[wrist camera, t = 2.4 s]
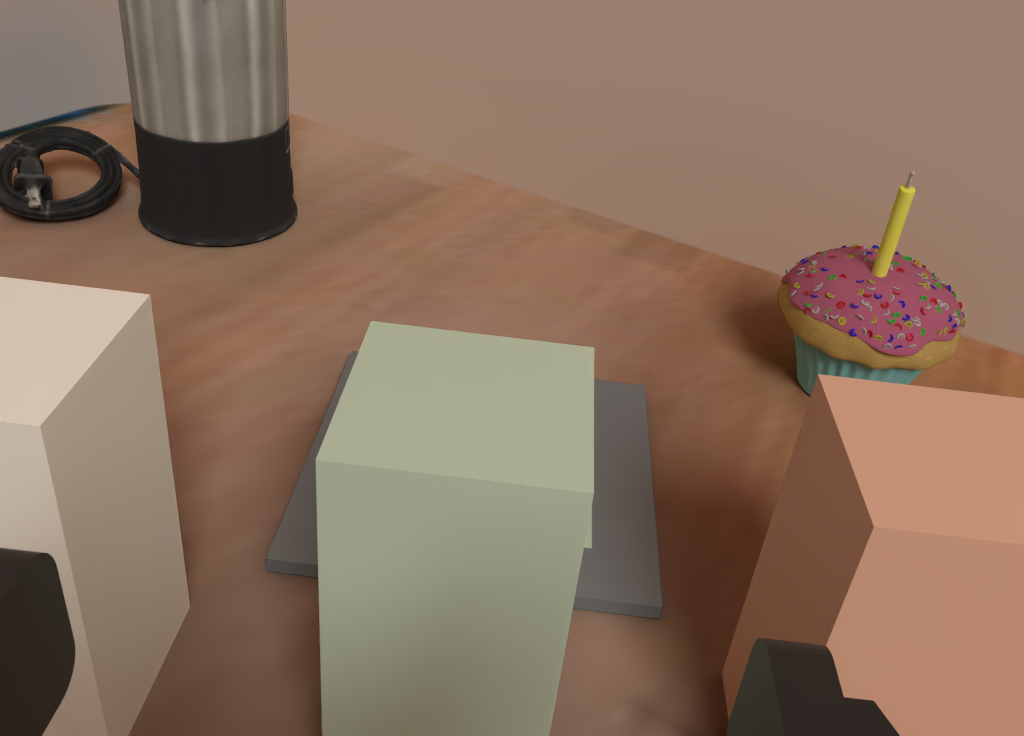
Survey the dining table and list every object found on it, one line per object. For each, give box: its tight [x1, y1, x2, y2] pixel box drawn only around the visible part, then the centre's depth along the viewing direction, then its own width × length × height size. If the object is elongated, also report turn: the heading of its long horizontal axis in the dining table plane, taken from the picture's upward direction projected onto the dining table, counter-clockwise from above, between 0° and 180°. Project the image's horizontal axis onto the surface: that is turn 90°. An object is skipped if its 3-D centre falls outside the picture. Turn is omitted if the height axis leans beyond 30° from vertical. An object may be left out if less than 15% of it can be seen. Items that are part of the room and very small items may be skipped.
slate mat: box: [266, 351, 663, 619], centre depth 39 cm, size 14×14×1 cm
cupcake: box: [777, 172, 965, 396], centre depth 44 cm, size 9×8×12 cm
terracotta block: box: [722, 374, 1024, 736], centre depth 26 cm, size 6×6×12 cm
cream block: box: [0, 277, 190, 736], centre depth 26 cm, size 6×6×12 cm
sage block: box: [316, 321, 594, 736], centre depth 26 cm, size 6×6×12 cm
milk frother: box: [0, 0, 297, 246], centre depth 53 cm, size 14×16×15 cm
